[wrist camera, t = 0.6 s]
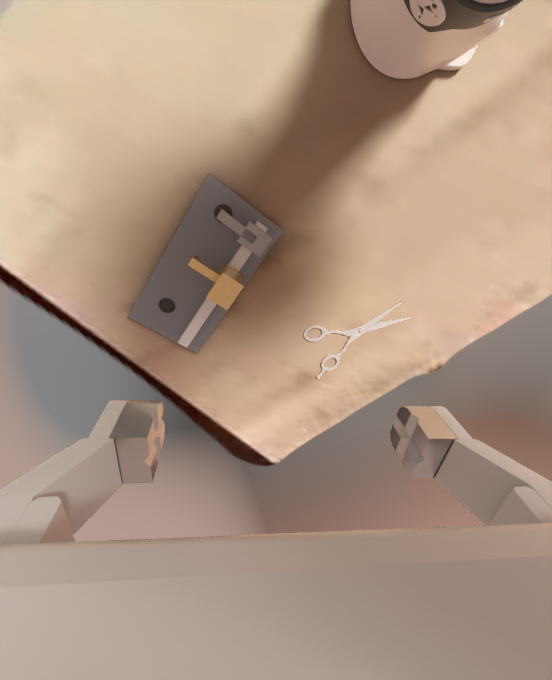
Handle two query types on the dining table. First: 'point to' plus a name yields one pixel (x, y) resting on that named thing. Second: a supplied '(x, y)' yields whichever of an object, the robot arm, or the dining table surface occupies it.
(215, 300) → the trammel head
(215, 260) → the plate
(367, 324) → the scissors
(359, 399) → the dining table surface
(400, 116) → the dining table surface
